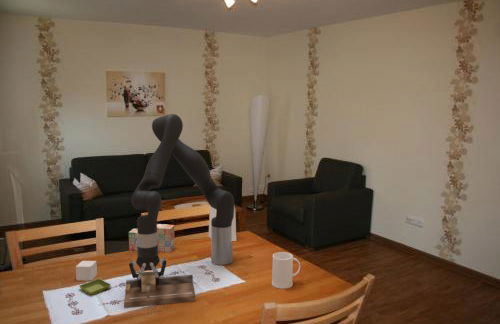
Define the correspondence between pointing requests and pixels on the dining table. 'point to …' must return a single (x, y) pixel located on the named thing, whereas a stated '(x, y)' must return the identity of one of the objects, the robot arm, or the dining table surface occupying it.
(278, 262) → the mug
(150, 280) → the gauge
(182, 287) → the tray
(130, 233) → the stack of blocks
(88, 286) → the green square dish
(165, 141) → the robot arm
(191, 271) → the dining table surface
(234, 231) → the milk
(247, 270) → the dining table surface
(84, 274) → the white cube
